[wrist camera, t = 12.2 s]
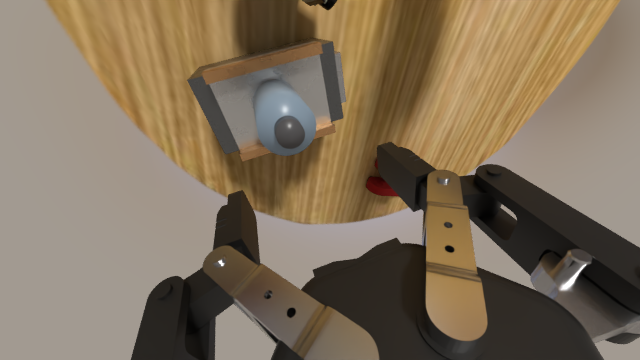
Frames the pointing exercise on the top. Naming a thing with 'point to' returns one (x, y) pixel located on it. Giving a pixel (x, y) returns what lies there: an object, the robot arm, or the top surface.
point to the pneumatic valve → (321, 3)
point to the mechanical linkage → (379, 186)
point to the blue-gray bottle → (282, 118)
